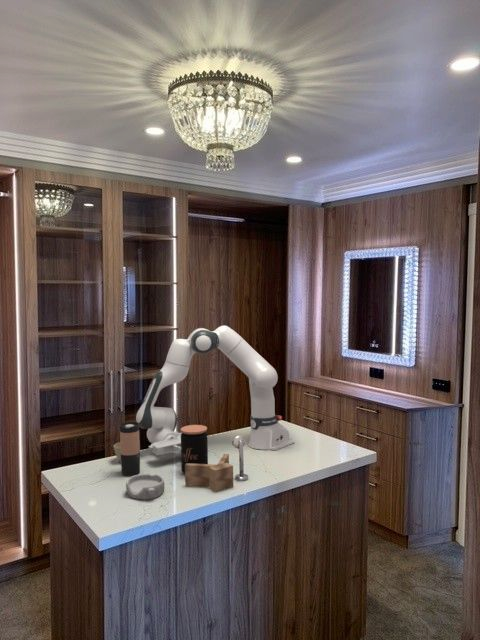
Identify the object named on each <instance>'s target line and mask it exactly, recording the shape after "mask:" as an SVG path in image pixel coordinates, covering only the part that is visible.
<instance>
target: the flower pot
mask: <svg viewBox="0 0 480 640" xmlns="http://www.w3.org/2000/svg"><path fill="white" fill-rule="evenodd" d="M113 450H114V453H115V456H116V458H117V460H118V461H119V462H120V463H121V451H120V442H116V443H115V444H114V445H113Z"/></svg>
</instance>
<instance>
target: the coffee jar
mask: <svg viewBox="0 0 480 640" xmlns="http://www.w3.org/2000/svg"><path fill="white" fill-rule="evenodd" d="M180 432H182V434H181V452H180V456H181V457H180V460H181V461H180V462H181V472H182V474H183V475H184V476H185V464H186V463H191V464H209V460H208V459H209V455H208V453H209V449H208V448H209V447H208V446H209V445H208V426H205V425H203V424H189V425H185V426H182V427H181V428H180Z"/></svg>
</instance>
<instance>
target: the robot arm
mask: <svg viewBox="0 0 480 640" xmlns="http://www.w3.org/2000/svg"><path fill="white" fill-rule="evenodd" d="M216 349H218V350H220V352H222V353H223V354H224V355H225V357H227V358H228V359H229V360H230V361H231V363H233V364H234V365H235V366H236V367H237V368H238V369H239V370H240V371H241V372H242V373H244V375H246V377H247V378H248V383H249V392H250V393H249V394H250V408H251V410H250V412H251V414H250V419H249V420H250V422H249V423H250V433H249V434H250V436H249V439H248V444H247V445H248V447H249V448H252V449H254V450H255V449H256V450H265V451H266V450H270V451H271V450H272V451H277V450H280V449H282V448H285V447H288V446H290V445H292V444H295V440H294V439H293V438H291V437H290V432H289V429H288V428H286V426H284V425H283V424H281V423H280V422H279V421H281V420H282V418H283V416H282V415H279V414H278V415H277V414H276V413H275V410H276V409H275V408H276V407H275V400H276V399H275V395H274V389H273V388H274V387H275V386H276V384H277V383H278V379H279V378H278V377H279V376H278V373H277V370H276V368H274V367H273V366H272V365H271V364H270V363H269V362H268V361H267V360H266V359H265V358H264V357H262V355H260V354H259V353H258V352H257V351H256V350H255V349H254V348H253V347H252V346H251V345H250V344H249V343H248V342H247V341H246V340H245V339H244V338H243V337H242V336H241V335H240V334H238V333H237V332H236V331H235V330H234V329H232V328H231V327H229V326H228V325H220V326H218V327H217V328H216V329H215V330H213V331H212V330H209V329H207V328H204V327H197V328H195V329H193V330H192V331H191V332H190V333H189V335H187V336H186V338H177V339H174V340H173V341H172V343H171V344H170V348H169V349H168V352H167V355H166V359H165V362H164V364H163V366H162V368H161V369H160V370H159V371H157V372H156V373H155V374H154V375H153V377H152V380H151V382H150V384H149V386H148V389H147V392H146V394H145V396H144V398H143V401H142V402H141V404H140V407H139V408H138V410H137V412H136V415H135V422H137V423H139V428H141V429H143V430H147V431H146V438H147V439H148V441H149V443H151V444H150V445H148V449H150V450H151V451H152V452H153V454H154V455H155V456H161V455H162V456H163V455H166V454H171V453H175V452H179V453H181V434H182V432H181V431H175V430H176V428H177V426H178V425H177V424H178V415H177V412H176V411H175V410H174V408H172V407H166V406H164V407H163V406H162V407H161V406H155V404H156V402H157V399H158V397H159V394H160V393H161V391H162V390H163V389H164V388H166V387H168V386H170V385H172V384H173V385H174V384H177V383H181V381H183V380H184V379H186V377H187V375H188V373H189V370H190V366H191V361H192V358H193V356H194V355H195V354H201V355H204V354H205V355H206V354H208V353H210V352H212V351H214V350H216ZM278 420H279V421H278Z"/></svg>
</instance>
